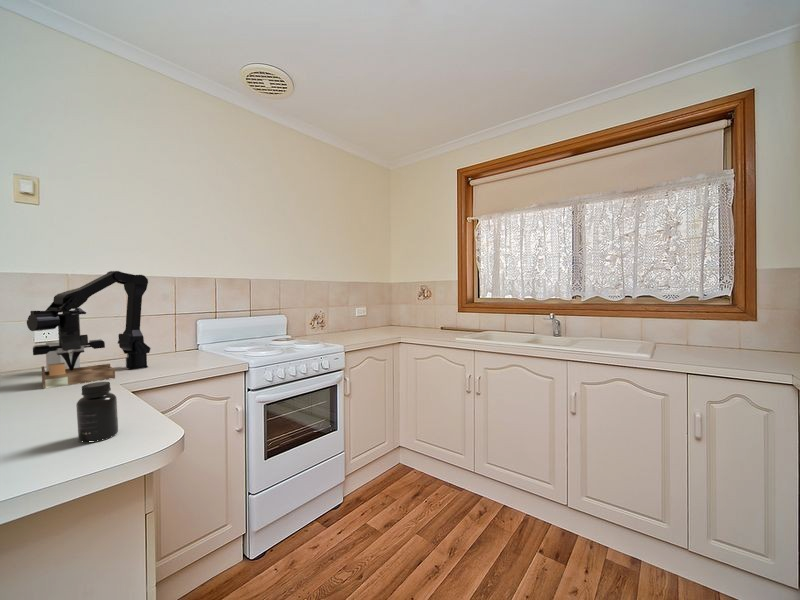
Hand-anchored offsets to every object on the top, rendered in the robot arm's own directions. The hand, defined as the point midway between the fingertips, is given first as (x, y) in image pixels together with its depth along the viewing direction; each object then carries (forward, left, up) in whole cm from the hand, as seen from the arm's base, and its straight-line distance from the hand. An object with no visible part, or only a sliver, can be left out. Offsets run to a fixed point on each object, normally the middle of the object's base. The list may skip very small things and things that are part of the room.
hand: (71, 370), depth 127 cm
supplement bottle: (0, +71, -4) cm, 71 cm away
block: (+4, 0, -1) cm, 4 cm away
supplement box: (+1, -24, -4) cm, 24 cm away
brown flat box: (-2, 0, -4) cm, 5 cm away
